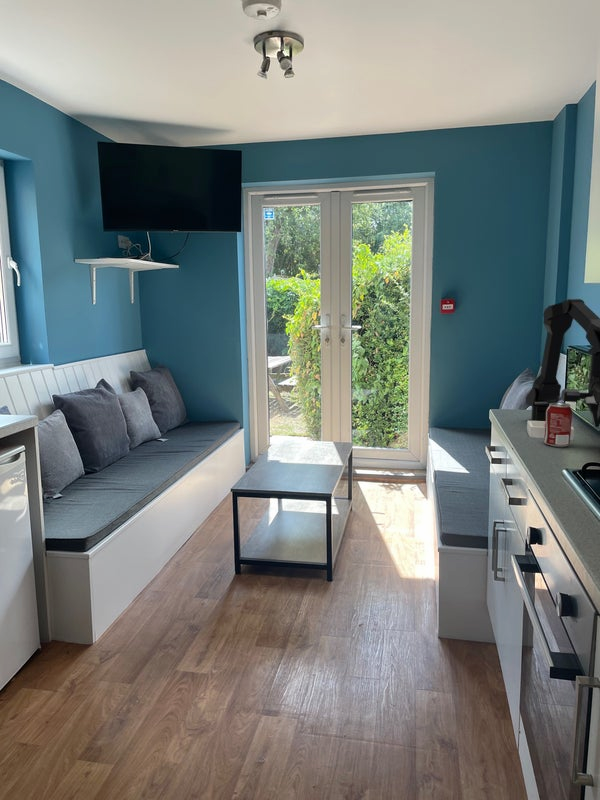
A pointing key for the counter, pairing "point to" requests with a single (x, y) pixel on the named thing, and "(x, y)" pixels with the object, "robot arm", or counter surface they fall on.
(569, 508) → the counter surface
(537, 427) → the bin
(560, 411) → the soda can
